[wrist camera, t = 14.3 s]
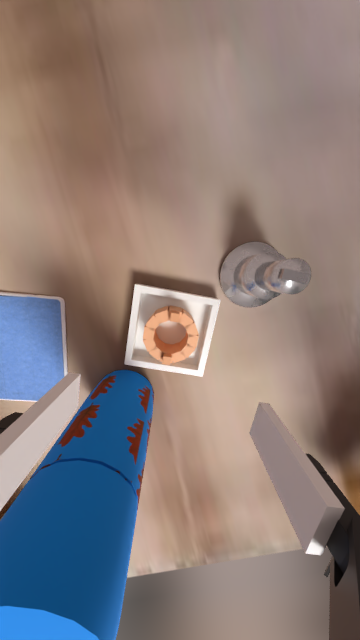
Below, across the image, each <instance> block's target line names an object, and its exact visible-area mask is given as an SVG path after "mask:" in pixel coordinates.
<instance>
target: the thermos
mask: <svg viewBox="0 0 360 640" xmlns="http://www.w3.org/2000/svg"><path fill="white" fill-rule="evenodd" d="M153 400H154V392H153V389H152V386H151V384H150V383H149V381H148V380H147V379H146V378H145V377H144V376H142V375H141V374H139V373H137V372H134V371H130V370H117V371H114V372H112V373H110V374H107V375H106V376H105V377H104V378H103V379H102V380H101V381H100V382H99V384H98V385H97V386H96V387H95V388H94V390H93V391H92V392H91V393H90V395H89V396H88V397H87V399H86V400H85V402H84V403H83V405H82V406H81V407H80V409H79V410H78V412H77V413H76V414H75V416H74V417H73V419H72V420H71V421H70V423H69V424H68V426H67V427H66V429H65V430H64V431H63V433H62V434H61V436H60V437H59V438H58V440H57V441H56V443H55V444H54V446H53V447H52V448H51V450H50V451H49V453H48V454H47V455H46V457H45V458H44V460H43V461H42V462H41V464H40V465H39V467H38V468H37V470H36V471H35V472H34V474H33V475H32V477H31V478H30V480H29V481H28V482H27V484H26V485H25V487H24V488H23V489H22V491H21V492H20V494H19V495H18V496H17V498H16V499H15V501H14V502H13V504H12V505H11V506H10V508H9V509H8V511H7V512H6V513H5V515H4V516H3V518H2V519H1V520H0V640H116V635H117V631H118V627H119V622H120V617H121V610H122V604H123V598H124V591H125V585H126V579H127V572H128V566H129V560H130V553H131V547H132V541H133V535H134V528H135V522H136V516H137V509H138V503H139V497H140V490H141V484H142V478H143V471H144V465H145V459H146V452H147V446H148V440H149V433H150V427H151V421H152V412H153Z"/></svg>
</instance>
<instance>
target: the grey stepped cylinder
mask: <svg viewBox="0 0 360 640" xmlns="http://www.w3.org/2000/svg"><path fill="white" fill-rule="evenodd" d="M310 279H311V269H310V266H309V265H308V263H307V262H306V261H304V260H302V259H299V258H293V259H286V258H285V257H284V256H283V255H281V254H279V253H278V252H277V251H276V250H275V249H274V248H273V247H271V246H270V245H268V244H266V243H262V242H248V243H245V244H242V245H240V246H238V247H236V248H235V249H234V250H232V251H231V252H230V253H229V254H228V255H227V257H226V258H225V260H224V261H223V264H222V266H221V270H220V284H221V288H222V290H223V292H224V294H225V295H226V297H227V298H228V299H229V300H231V301H232V302H233V303H235V304H237V305H240V306H243V307H257V306H260V305H263V304H265V303H267V302H268V301H270V300H271V299H272V298H274V297H276V296H278V295H280V294H281V293H285V294H296V293H299V292H301V291H302V290H304V289H305V288H306V287H307V285H308V284H309V282H310Z"/></svg>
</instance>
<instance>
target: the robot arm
mask: <svg viewBox="0 0 360 640" xmlns="http://www.w3.org/2000/svg"><path fill="white" fill-rule="evenodd" d="M80 376H81V374H78V373H72V372H69V373H68V374H67V375H66V376H65V377H64V378H63V379H61V380H60V381H59V382H58V383H57V384H56V385H55V386H54V387H53V388H51V389H50V390H49V391H48V392H47V393H46V394H45V395H44V396H42V397H41V398H40V399H39V400H38V401H37V402H36V403H35V404H34V405H32V406H31V407H30V408H29V409H28V410H27V411H26V412H25V413H17V412H15V413H13V414H11V415H9V416H7V417H5V418H3V419H2V420H0V511H1V509H2V508H3V507H4V505H5V504H6V503H7V501H8V500H9V499H10V497H11V496H12V495H13V493H14V492H15V491H16V489H17V488H18V487H19V485H20V484H21V483H22V481H23V480H24V479H25V477H26V476H27V475H28V473H29V472H30V471H31V469H32V468H33V467H34V465H35V464H36V463H37V461H38V460H39V459H40V457H41V456H42V455H43V453H44V452H45V451H46V449H47V448H48V447H49V445H50V444H51V443H52V441H53V440H54V439H55V437H56V436H57V435H58V433H59V432H60V431H61V429H62V428H63V427H64V425H65V424H66V423H67V421H68V420H69V419H70V417H71V416H72V415H73V413H74V412H75V411H76V409H77V408H78V400H79V388H80ZM250 435H251V437H252V439H253V442H254V444H255V446H256V448H257V450H258V452H259V454H260V457H261V459H262V461H263V463H264V465H265V467H266V470H267V472H268V474H269V476H270V478H271V480H272V483H273V485H274V487H275V489H276V491H277V493H278V495H279V498H280V500H281V502H282V504H283V506H284V508H285V511H286V513H287V515H288V517H289V519H290V521H291V524H292V526H293V528H294V530H295V532H296V534H297V537H298V539H299V541H300V543H301V545H302V547H303V549H304V551H305V553H307V554H316V555H322V554H323V552H324V550H325V548H326V546H328V548H329V550H330V552H331V554H332V555H333V557H332V558H331V560H330V562H329V564H328V566H327V568H326V570H325V574H324V575H325V576H326V577H328V575H329V573H330V625H329V640H360V515H359V514H358V513H357V512H356V510H355V509H354V508H353V506H352V505H351V504H350V502H349V501H348V500H347V498H346V497H345V496H344V495H343V493H342V492H341V491H340V489H339V488H338V487H337V485H336V484H335V483H333V480H332V479H331V478H330V476H329V475H327V472H326V471H325V470H324V468H323V467H322V466H321V464H320V463H319V462H318V461H317V460H316V459H315V458H313V457H312V456H311V455H310V454H305V453H304V451H303V450H302V449H301V447H300V446H299V444H298V443H297V442H296V440H295V439H294V437H293V436H292V435H291V433H290V432H289V431H288V429H287V428H286V426H285V425H284V424H283V422H282V421H281V419H280V418H279V417H278V415H277V414H276V413H275V411H274V410H273V408H272V407H271V406H270V404H268V403H261V402H259V405H258V408H257V411H256V414H255V417H254V421H253V424H252V427H251V430H250Z"/></svg>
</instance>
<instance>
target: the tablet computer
mask: <svg viewBox="0 0 360 640" xmlns="http://www.w3.org/2000/svg"><path fill="white" fill-rule="evenodd" d="M65 319H66V315H65V301H64V299H63V298H61V297H58V296H46V295H33V294H21V293H9V292H0V399H1V400H16V401H35V402H37V401H38V400H39V399H40V398H41V397H42V396H44V395H45V394H46V393H47V392H48V391H49V390H50V389H51V388H53V387H54V386H55V385H56V384H57V383H58V382H59V381H60V380H61V379H63V378H64V377H65V376H66V375H67V374H68V367H67V345H66V321H65Z"/></svg>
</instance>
